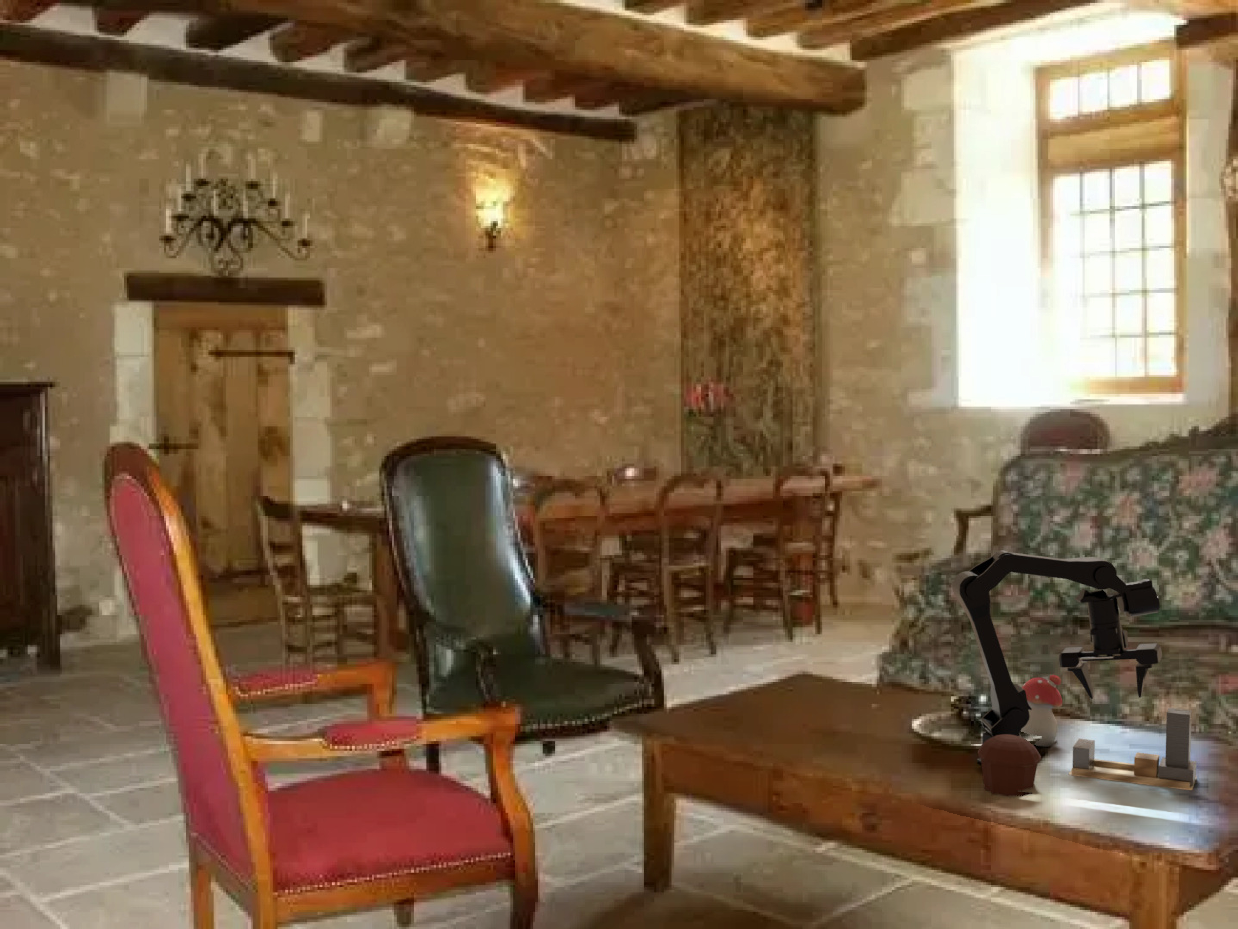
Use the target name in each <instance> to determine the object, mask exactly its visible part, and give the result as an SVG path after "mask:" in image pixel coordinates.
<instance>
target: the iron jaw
mask: <svg viewBox="0 0 1238 929" xmlns="http://www.w3.org/2000/svg"><path fill="white" fill-rule="evenodd" d="M1095 742H1096V740H1095V739H1085V738H1078V739H1077V740H1076V742H1075V743H1074V744H1073V747H1072V768H1079V769H1087V770H1092V768H1093V767H1094V759H1095V753H1096V752H1095V749H1096V748H1095V746H1096V745H1095V744H1096V743H1095Z"/></svg>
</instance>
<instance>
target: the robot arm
mask: <svg viewBox="0 0 1238 929" xmlns="http://www.w3.org/2000/svg"><path fill="white" fill-rule="evenodd" d="M1010 573H1014V574H1024V575H1031V576H1039V577H1047V578H1057V579H1062V580H1063V579H1064V580H1069V581H1072V582H1075V583H1077V584H1081V585H1084V586H1088V587H1090V588H1094V589H1096V590H1092V591H1091V590H1090V591H1088V590H1087V589H1086V588H1081V591H1080V592H1079V593H1078V594H1077V596H1075V598H1074V600H1076V601H1077V602H1079V603H1081V604H1084V603H1085V604H1086V605H1087V612H1088V619H1089V626H1090V632H1089V634H1090V642H1091V644H1092V645H1093V650H1092V651H1085V649H1084V646H1070V647H1069V646H1068V647H1067V646H1066V647H1065V648H1064V649H1063V651H1061V653H1060V654H1059V657H1058V660H1059V661H1058V662H1059V667H1060V668H1067V672H1072V673H1073V674H1074V676H1075V677H1076V678H1077V679H1078V680H1079V681H1080V682H1079V683H1080V684H1081V685H1082V687H1083V688H1084V690H1085V692H1086V693H1087V695H1088V697H1089V699H1090V700H1093V699H1094V698H1095V697H1094V690H1093V685H1092V681H1091V676H1090V672H1089V662H1093V661H1094V662H1095V661H1097V662H1099V661H1120V660H1121V661H1123V660H1136V662H1137V664H1136V665H1135V672H1136V673H1135V674H1136V676H1135V677H1136V691H1137V695H1138V698H1140V699H1141V698H1142V697H1143V691H1144V686H1145V681H1146V676H1147V674H1148V670H1149V669H1153V667H1154V665H1157V664H1159V663H1160V661H1161V660H1162V658H1163V653H1162V647H1161V645H1160V644H1158V643H1157V642H1155V643H1141V644H1140V643H1139V644H1138V646H1137V647H1136V649H1135V648H1133V649H1127V648H1129V638H1128V631H1127V630H1126V629H1124V628H1123V627H1122V626H1123V625H1122V622H1121V619H1120V618H1121V616H1120V613H1122V614H1125V616H1127V617H1128V618H1133V617H1137V616H1138V617H1139V616H1144V615H1150V614H1156V613H1159V612H1160V607H1161V606H1160V603H1161V602H1160V598H1159V596H1158V594H1157V592H1156V589H1155V587H1154V585H1153V580H1151V579H1148V578H1144V579H1140V580H1138V581H1131V582H1126V581H1123V580H1122V578H1120V577H1119V576H1118V575H1117V569H1116V566H1114V564H1113V563H1112V562H1109V561H1108V560H1104V559H1102V558H1101V557H1097V556H1086V557H1085V556H1082V557H1074V558H1057V557H1049V556H1041V555H1033V554H1025V553H1017V552H1010V551H1007V550H1003V549H1002V550H998V551H996V552H995V553H994V554H992V555H991V556H990V557H988V558H987V559H985V560H983V561H982V562H980V563H978V564H976V565H975V566H973V567H971V569H969V570H967V571H961V572H959V573H958V574H957V575H956V576H955V577H954V578H953V581H952V584H951V585H952V586H951V587H952V591H953V594H954V595H955V597H956V599H957V600H958V602H959V604H960V606H961V607H962V609H963V611H964V612H965V614H966V615H967V617H968V619H969V621H970V625H971V628H972V631H973V634H974V637H975V640H976V644H977V646H978V648H979V652H980V656H981V658H982V661H983V665H984V667H985V671H986V674H987V677H988V680H989V683H990V684H989V685H990V702H991V709H990V710H988V711H987V712H986V713H985V714H984V715H983V716H982V717H981V718H980V721H981V725H982V728H983V729H984V730H985V732H983V733H982V744H983V743H984V742H985V741H986V740H988V739H990V738H992V737H994V736H996V735H1003V734H1010V735H1015V736H1019V737H1020V731H1021V729H1022V728H1023V727H1024V726H1025V725H1026V724H1027V722H1028V720H1029V718H1030V715H1029V711H1028V710H1032V708H1031V707H1030V706H1029V704H1028V702H1027V697H1026V692H1025V690H1024V689H1023V688H1022V687H1021V685H1019V684H1018V683H1015V684H1014V683H1013V680H1012V677H1011V674H1010V671H1009V669H1008V666H1007V662H1006V659H1005V656H1004V654H1003V650H1002V648H1001V644H1000V641H999V638H998V636H997V632H996V629H995V625H994V621H993V620H992V616H991V604H992V603H991V602H992V601H991V596H990V595H991V594H990V592H991V591H992V590H993V589H994V588H996V587H997V586H998V585H999V584H1000V583H1001V582H1002V581H1003V580H1004V578H1005V577H1007V576H1008V575H1009V574H1010ZM1108 589H1110V590H1112V592H1106V590H1108ZM976 762H978V763H980V764H981V759H980V758H977V759H976Z"/></svg>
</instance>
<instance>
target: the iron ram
mask: <svg viewBox="0 0 1238 929" xmlns="http://www.w3.org/2000/svg"><path fill="white" fill-rule="evenodd" d="M1192 711H1193V710H1192V709H1184V708H1176V707H1175V708H1174V707H1169V708H1168V710H1166V725H1165V726H1166V727H1165V731H1166V734H1165V757H1162V758H1161V760H1160V761H1159V779H1167V780H1175V781H1183V782H1190V786H1193V784H1194V785H1195V783H1194V781H1195V782H1196V780H1195V778H1196V779H1197V777H1196V776H1197V760H1196V761H1195V760H1191V751H1192V750H1191V749H1192V748H1191V747H1192V746H1191V745H1192V743H1191V742H1192V713H1193V712H1192ZM1193 787H1194V786H1193Z"/></svg>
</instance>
